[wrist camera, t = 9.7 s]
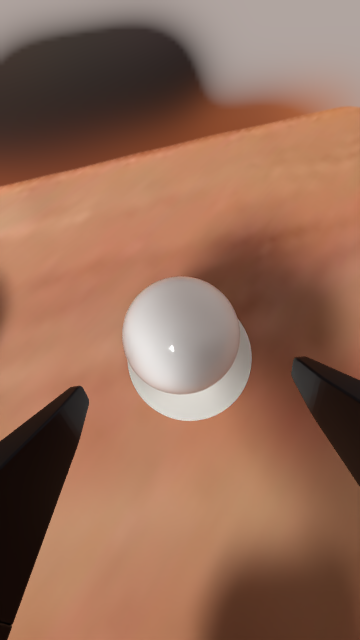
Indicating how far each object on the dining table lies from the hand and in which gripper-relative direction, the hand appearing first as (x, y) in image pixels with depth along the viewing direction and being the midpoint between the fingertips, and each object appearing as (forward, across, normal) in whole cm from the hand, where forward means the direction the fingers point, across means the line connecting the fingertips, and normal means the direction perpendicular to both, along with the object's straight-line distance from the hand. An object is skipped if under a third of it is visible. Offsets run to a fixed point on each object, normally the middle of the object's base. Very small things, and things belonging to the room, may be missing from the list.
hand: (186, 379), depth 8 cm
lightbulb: (+9, 0, +5) cm, 10 cm away
